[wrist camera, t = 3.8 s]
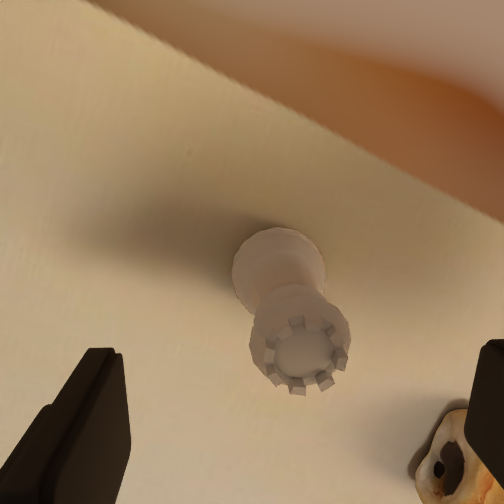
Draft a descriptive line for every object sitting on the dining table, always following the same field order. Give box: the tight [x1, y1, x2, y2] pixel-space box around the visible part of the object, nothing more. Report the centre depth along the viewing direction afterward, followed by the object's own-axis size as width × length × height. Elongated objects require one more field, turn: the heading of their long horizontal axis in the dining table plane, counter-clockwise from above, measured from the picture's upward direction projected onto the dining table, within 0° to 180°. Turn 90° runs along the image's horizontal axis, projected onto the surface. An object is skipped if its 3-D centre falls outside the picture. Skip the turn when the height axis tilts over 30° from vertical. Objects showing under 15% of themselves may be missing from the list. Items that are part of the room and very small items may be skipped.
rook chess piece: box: [231, 227, 351, 396], centre depth 15 cm, size 4×4×8 cm
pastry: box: [415, 409, 504, 504], centre depth 21 cm, size 9×7×4 cm
